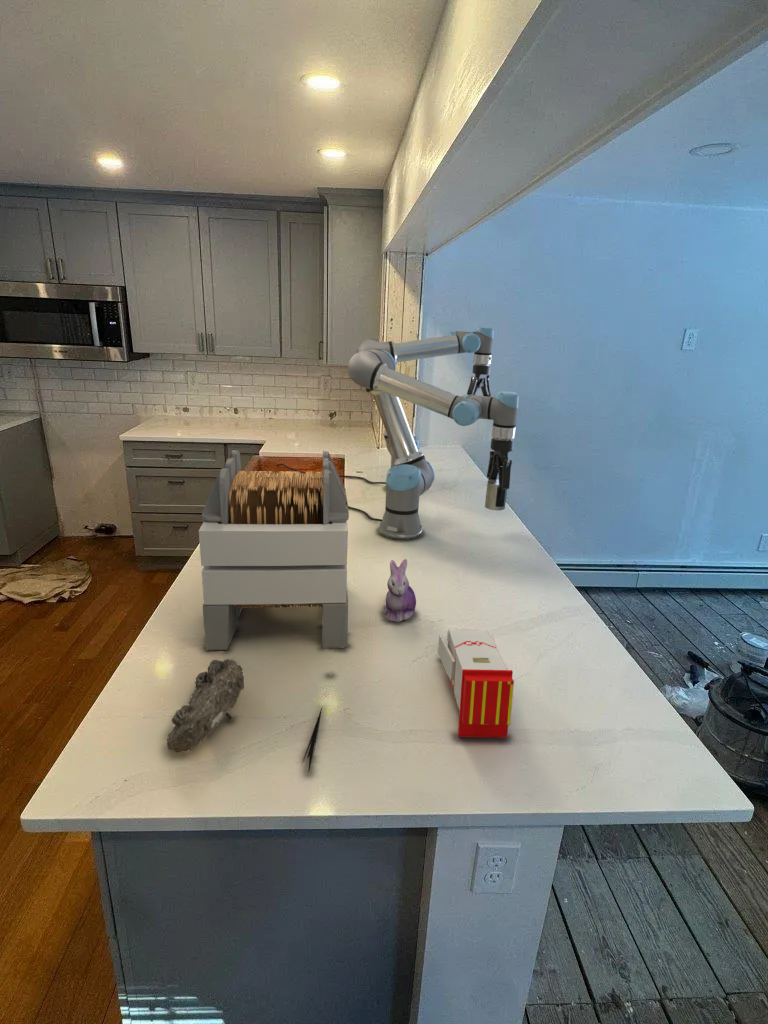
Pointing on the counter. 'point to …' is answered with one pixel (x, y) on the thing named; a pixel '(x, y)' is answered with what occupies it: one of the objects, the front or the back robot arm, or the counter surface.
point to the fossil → (206, 705)
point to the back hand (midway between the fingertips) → (477, 413)
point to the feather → (313, 740)
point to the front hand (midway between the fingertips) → (495, 502)
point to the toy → (478, 682)
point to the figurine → (399, 594)
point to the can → (493, 495)
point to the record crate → (274, 548)
